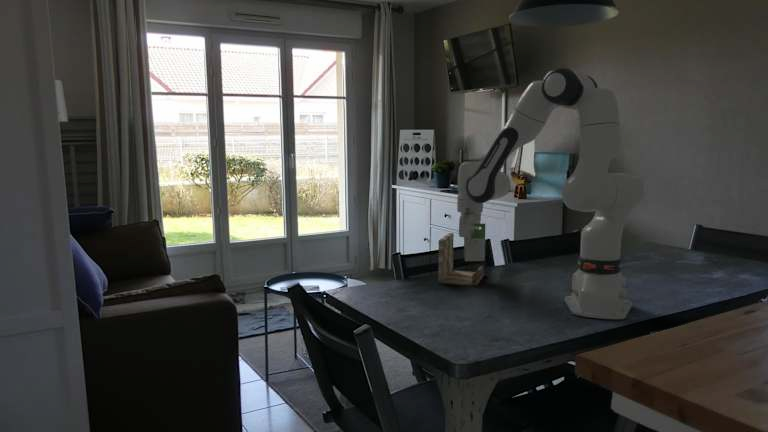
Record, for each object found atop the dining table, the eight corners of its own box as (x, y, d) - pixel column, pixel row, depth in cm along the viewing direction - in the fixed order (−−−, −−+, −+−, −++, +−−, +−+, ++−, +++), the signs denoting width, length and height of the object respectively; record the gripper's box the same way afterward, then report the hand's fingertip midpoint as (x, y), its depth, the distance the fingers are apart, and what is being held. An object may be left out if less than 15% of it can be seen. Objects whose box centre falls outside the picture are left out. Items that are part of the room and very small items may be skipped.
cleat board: (476, 286, 191) (476, 242, 189) (438, 282, 196) (438, 240, 194) (484, 275, 206) (484, 234, 204) (448, 272, 210) (449, 233, 208)
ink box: (483, 259, 201) (483, 222, 199) (485, 261, 197) (485, 223, 195) (463, 259, 201) (464, 222, 199) (465, 261, 197) (465, 223, 195)
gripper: (473, 210, 186) (472, 251, 188) (484, 203, 205) (483, 241, 207) (454, 210, 188) (454, 250, 190) (466, 203, 207) (466, 240, 209)
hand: (469, 245), depth 198 cm, fingers closed on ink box, 5 cm apart
